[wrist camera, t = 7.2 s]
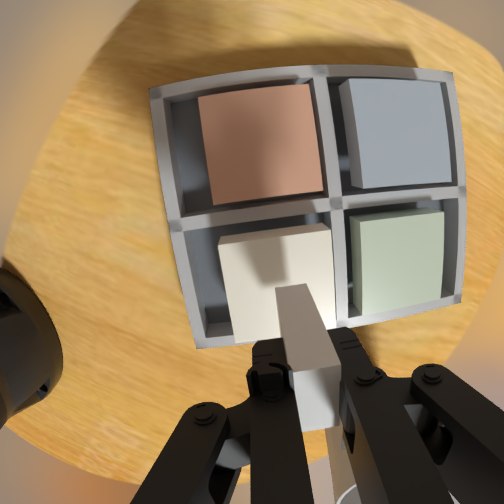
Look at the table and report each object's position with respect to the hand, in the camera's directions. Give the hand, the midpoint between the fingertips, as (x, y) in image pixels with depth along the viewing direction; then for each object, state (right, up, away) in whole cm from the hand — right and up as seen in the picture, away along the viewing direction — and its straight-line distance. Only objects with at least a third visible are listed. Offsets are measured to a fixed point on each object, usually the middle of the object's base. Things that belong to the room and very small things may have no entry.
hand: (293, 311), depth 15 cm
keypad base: (+3, +7, +7) cm, 10 cm away
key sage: (+7, +3, +5) cm, 9 cm away
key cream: (0, +1, +4) cm, 5 cm away
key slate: (+6, +10, +2) cm, 12 cm away
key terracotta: (-2, +9, +3) cm, 10 cm away
